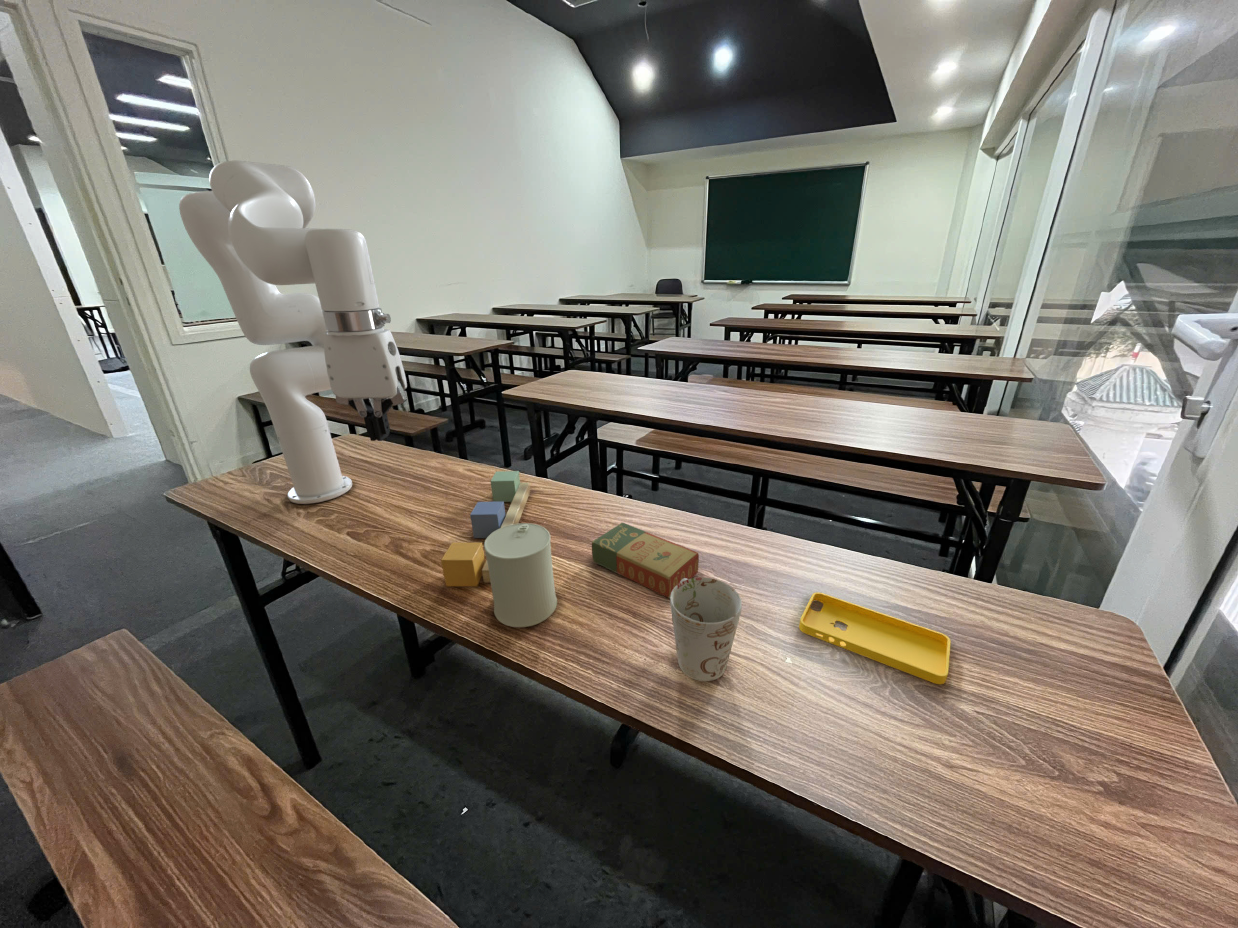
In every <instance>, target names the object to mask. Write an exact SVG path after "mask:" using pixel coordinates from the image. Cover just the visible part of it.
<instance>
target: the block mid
mask: <svg viewBox="0 0 1238 928" xmlns="http://www.w3.org/2000/svg"><path fill="white" fill-rule="evenodd" d="M505 516H506V508H505V502H493V501H477V503H476V504H475V506H474V507H473V509H472V511H471V513H470V514H469V517H470V523H471V528H472V535H473V539H486V538H487V537H488V536H489V535H490V534H491V533H493V532H494V531H496V530H498V529H500V528H501V526H502V523H503V521H504V519H505Z"/></svg>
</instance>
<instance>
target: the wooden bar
mask: <svg viewBox="0 0 1238 928" xmlns="http://www.w3.org/2000/svg"><path fill="white" fill-rule="evenodd" d="M530 494H531V485H530V482H520V484H519V487H518V489H517V491H516V494H515V496H514V498H513V500H512V502H510V505H509V507H508V510H507V512H506V513H505V515H506V516H505V519H504V521H503V523H502V526H501V528H502V527H505V526H508V525H512V524H519V523H520V520H521V517H522V515H523V512H524V510H525V507H526V504H527V503H528V499H529V496H530ZM482 581H483V584H488V583H489V584H491V581H490V575H489V569H488V563H487V559H485V564H484V567H483V569H482Z"/></svg>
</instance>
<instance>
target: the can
mask: <svg viewBox="0 0 1238 928" xmlns="http://www.w3.org/2000/svg"><path fill="white" fill-rule="evenodd" d="M551 538H552V537H551V533H550V532H549V530H548V529H547V528H545V527H544V526H543V525H539V524H536V523H531V522H530V523H528V522H519V523H518V524H512V525H508V526H505V527H502V528H500V529H498V530H496V531H494V532H493V533H491V534H490V535H489V536H488V537H487V538H485V540H484V542H483V550H484V554H485V557H486V560H487V563H488V569H489V575H490V581H491V583H490V587H491V593H492V599H493V614H494V617H495V618H496V619H497V621H498V622H500V623H501V624H503V625H505V626H507V627H511V628H527V627H533V626H536V625H538V624H540V623H542V622H544V621H546V620H547V619H549V618H550V617H551V616H552V615H553V613H554V612H555V611H556V608H557V605H558V597H557V595H556V587H555V580H554V579H555V578H554V569H553V557H552V547H551Z"/></svg>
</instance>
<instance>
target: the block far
mask: <svg viewBox="0 0 1238 928" xmlns="http://www.w3.org/2000/svg"><path fill="white" fill-rule="evenodd" d="M520 483H521V478H520V471H519V470H509V471H508V470H506V471H505V470H504V471H503V470H501V471H500V470H499V471H495V473H494V474H493V475H492V478H491V480H490V489H491V494H492V495H491V496H492V502H504V503H512V500H513V498H514V496H515V494H516V491H517V489H518V487H519V484H520Z"/></svg>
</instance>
